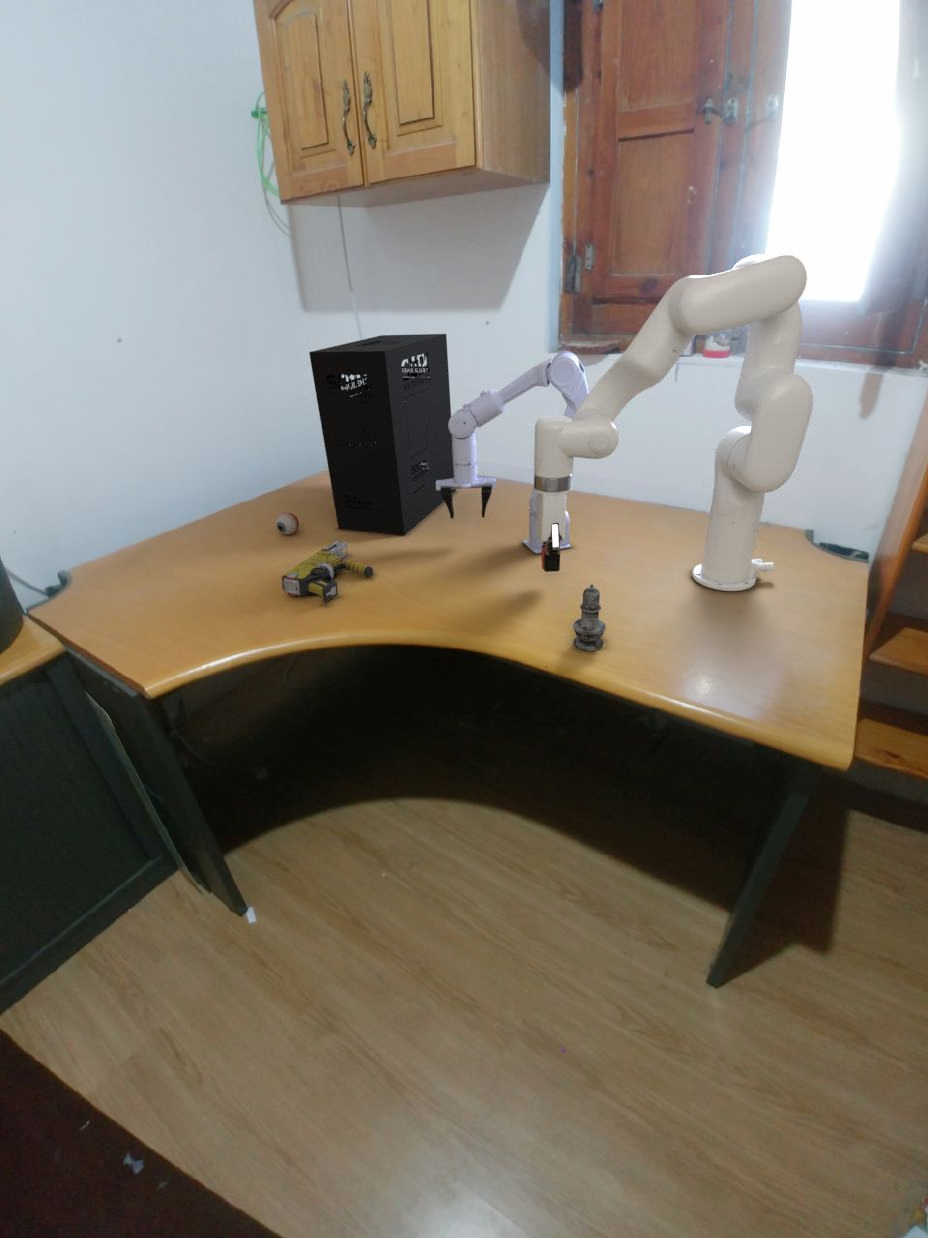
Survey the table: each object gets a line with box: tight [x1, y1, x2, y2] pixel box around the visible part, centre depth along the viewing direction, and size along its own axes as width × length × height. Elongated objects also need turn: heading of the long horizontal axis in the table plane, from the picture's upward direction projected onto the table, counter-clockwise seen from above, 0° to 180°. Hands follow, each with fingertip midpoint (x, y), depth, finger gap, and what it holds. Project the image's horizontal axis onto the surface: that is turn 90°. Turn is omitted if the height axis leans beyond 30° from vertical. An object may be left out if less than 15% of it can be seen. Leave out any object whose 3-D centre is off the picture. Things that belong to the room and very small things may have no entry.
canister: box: [541, 546, 550, 570], centre depth 127 cm, size 4×4×4 cm
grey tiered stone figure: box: [572, 583, 607, 652], centre depth 107 cm, size 6×6×12 cm
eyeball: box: [275, 511, 300, 536], centre depth 163 cm, size 6×6×6 cm
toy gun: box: [281, 539, 374, 603], centre depth 138 cm, size 5×24×15 cm
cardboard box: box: [308, 333, 457, 536], centre depth 167 cm, size 38×20×45 cm, turn 160°
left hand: (467, 516), depth 150 cm, fingers open, 7 cm apart
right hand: (550, 565), depth 128 cm, fingers closed on canister, 3 cm apart
